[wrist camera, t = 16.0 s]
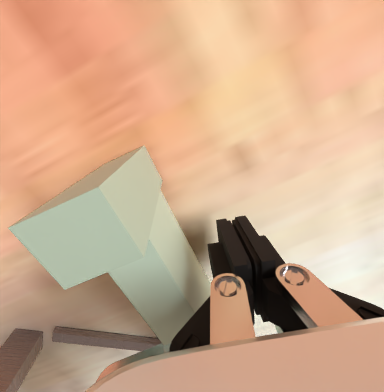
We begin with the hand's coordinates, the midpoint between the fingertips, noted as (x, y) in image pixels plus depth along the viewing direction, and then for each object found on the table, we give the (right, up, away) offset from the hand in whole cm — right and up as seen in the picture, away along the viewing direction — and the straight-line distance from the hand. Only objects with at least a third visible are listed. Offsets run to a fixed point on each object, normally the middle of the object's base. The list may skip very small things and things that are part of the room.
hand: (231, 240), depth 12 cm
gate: (-3, -2, +2) cm, 4 cm away
